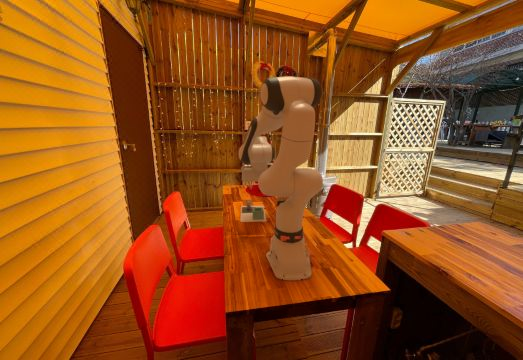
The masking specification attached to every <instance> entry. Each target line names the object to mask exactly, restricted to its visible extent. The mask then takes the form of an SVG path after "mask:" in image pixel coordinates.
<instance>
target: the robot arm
mask: <svg viewBox="0 0 523 360" xmlns="http://www.w3.org/2000/svg"><path fill="white" fill-rule="evenodd" d="M321 85H322V84H321V82H320V81H319V80H318V79H315V78H312V77H299V76H293V75H289V76H288V75H285V76H278V77H277V76H271V77H267V78H265V79H264V80H263V82H262V83H261V86H260V92H259V94H260V102H261V105H262V106H261V110H260V111H259V113H258V115H257V116H256V117H254V118H252V119H251V121H250V124H249V126H248V127H247V129H246V130H247V131H246V133H245V135H244V139H243V141H242V143H241V145H240V146H239V149H238V159H239V161H240V162H241V163H242V164H243V165H242V166H240V172H241V181H242V182H245V183H246V182H247V184H248V186H249V189H251V190H252V189H253V185H252V184H251V182H258V183H257V184H258V189H259V190H260V192H261V193H262V194H263V195H264V196H268V197H269V196H270V197H276V198H277V197H279V198H280V196H284V197H285V196H289V198H288V200H286V201H285V202H283V203H282V204H280V205H279V206H277V208H276V211H275V225H274V228H273V230H274V235H272V237H271V238H270V246H269V247H270V248H269V251H268V252H267V253H266V254H265V256H266V259H267V261H268V263H269V265H270V267H271V269H272V272H273V274H274V277H275V278H277V279H279V280H282V279H283V280H284V281H302V280H301V279H303V280H306V279H309V278H311V277H312V275H313V273H312V272H313V271H312V266H311V259H310V257H311V254H310V253H311V252H310V251H309V250H307V249H306V248H307V247H308V243H305V241H306V240H305V236H304V227H303V222H304V221H303V219H304V212H305V209H306V207H307V205H308V203H309V202H310V200H311V199H312V198H313V197H314V196H315V195H317V194H319V192H321V190H322V188H323V185H324V184H323V183H324V179H323V177H322V174H321V173H320V171H319V170H317V169H313V168H309V167H308V168H307V167H306V168H305V167H303V168H300V166H301V165H304V164H305V163H306V162H307V161H308V160H309V159H310V157H311V152H312V147H313V142H314V136H315V127H316V112H315V111H316V110H315V109H314V108H316V107H317V106H318V105H319V103H320V101H321V99H322V95H323V90H322V89H323V88H322V86H321ZM281 128H282V129H281ZM279 129H281V138H280V147H279V151H278V155H277V157H276V159H275V156H276V148H275V147H274V146H273V145H272V144H271V143H269V142H268V138H267V137H266V136H265V135H263V134H267V133H271V132H275V131H277V130H279ZM273 160H275V161H273ZM272 161H273V163H272ZM298 167H299V168H298Z"/></svg>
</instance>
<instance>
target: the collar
mask: <svg viewBox="0 0 523 360" xmlns="http://www.w3.org/2000/svg"><path fill="white" fill-rule="evenodd" d="M263 207H264V206H263ZM263 207H253V220H255V219H264V212H265V208H264V209H263Z"/></svg>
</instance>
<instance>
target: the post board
mask: <svg viewBox="0 0 523 360" xmlns="http://www.w3.org/2000/svg"><path fill="white" fill-rule="evenodd" d="M253 207H263V209H264V210H265V207H264V205H252V201H251V200H246V205H241V208H240V223H246V222H247V223H252V222H253V223H254V222H255V223H259V222H262V223H263V222H267V217H266V212H265V211H264V219H255V220H253Z"/></svg>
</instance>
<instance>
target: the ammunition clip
mask: <svg viewBox="0 0 523 360" xmlns="http://www.w3.org/2000/svg"><path fill="white" fill-rule="evenodd" d="M289 197H290V196H280V197H276V207H278V206H279V205H280V204H282V203H283V202H285V201H286V200H288V198H289Z"/></svg>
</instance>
